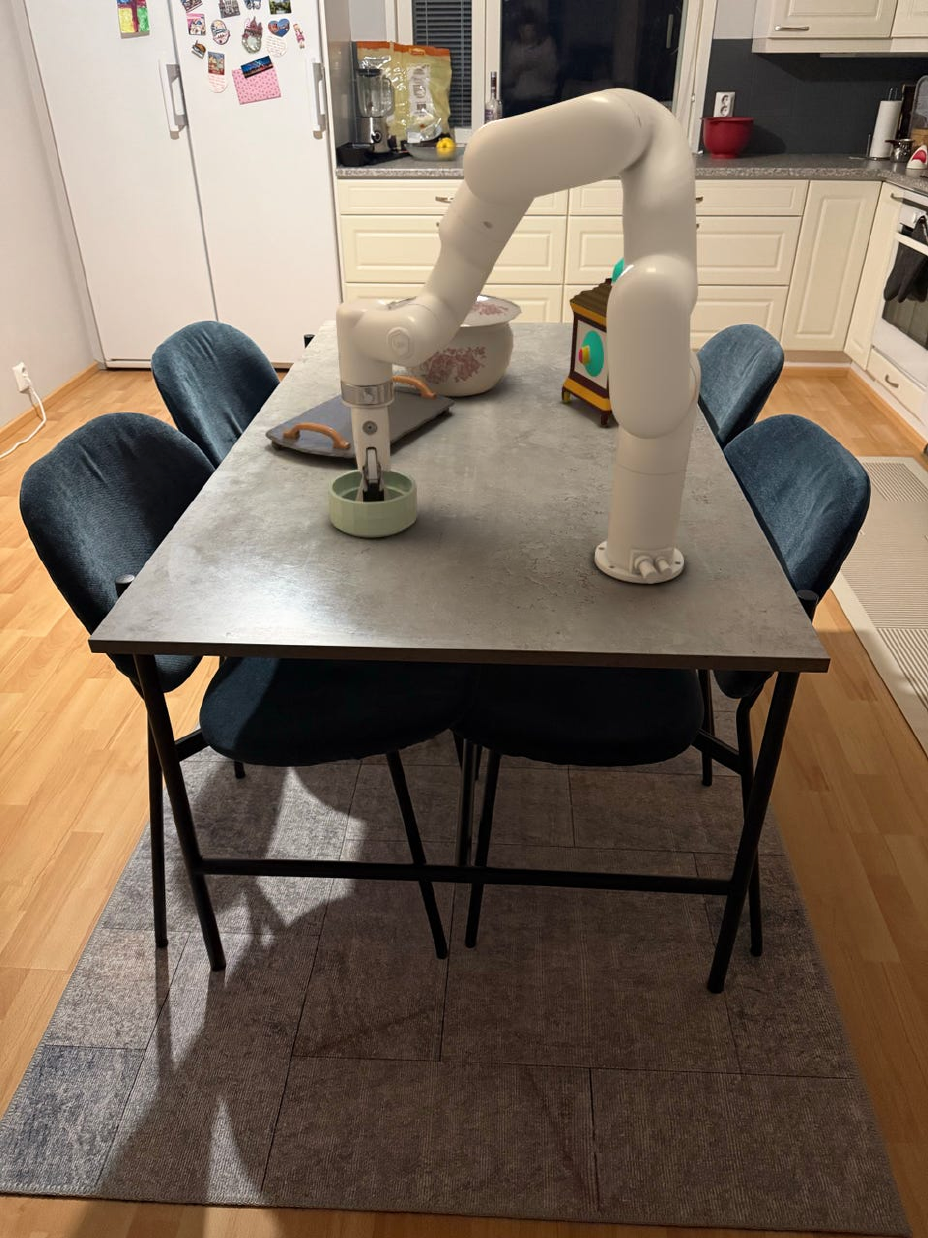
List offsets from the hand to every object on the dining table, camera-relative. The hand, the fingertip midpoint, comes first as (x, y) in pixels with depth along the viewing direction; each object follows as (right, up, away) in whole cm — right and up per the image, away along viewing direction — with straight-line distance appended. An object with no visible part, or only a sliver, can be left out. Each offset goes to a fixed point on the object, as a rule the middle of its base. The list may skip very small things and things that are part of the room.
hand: (373, 504), depth 140 cm
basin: (0, -2, +1) cm, 3 cm away
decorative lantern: (+45, +25, +46) cm, 69 cm away
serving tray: (-5, +19, +35) cm, 40 cm away
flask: (0, -2, +1) cm, 2 cm away
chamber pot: (+12, +33, +57) cm, 67 cm away
